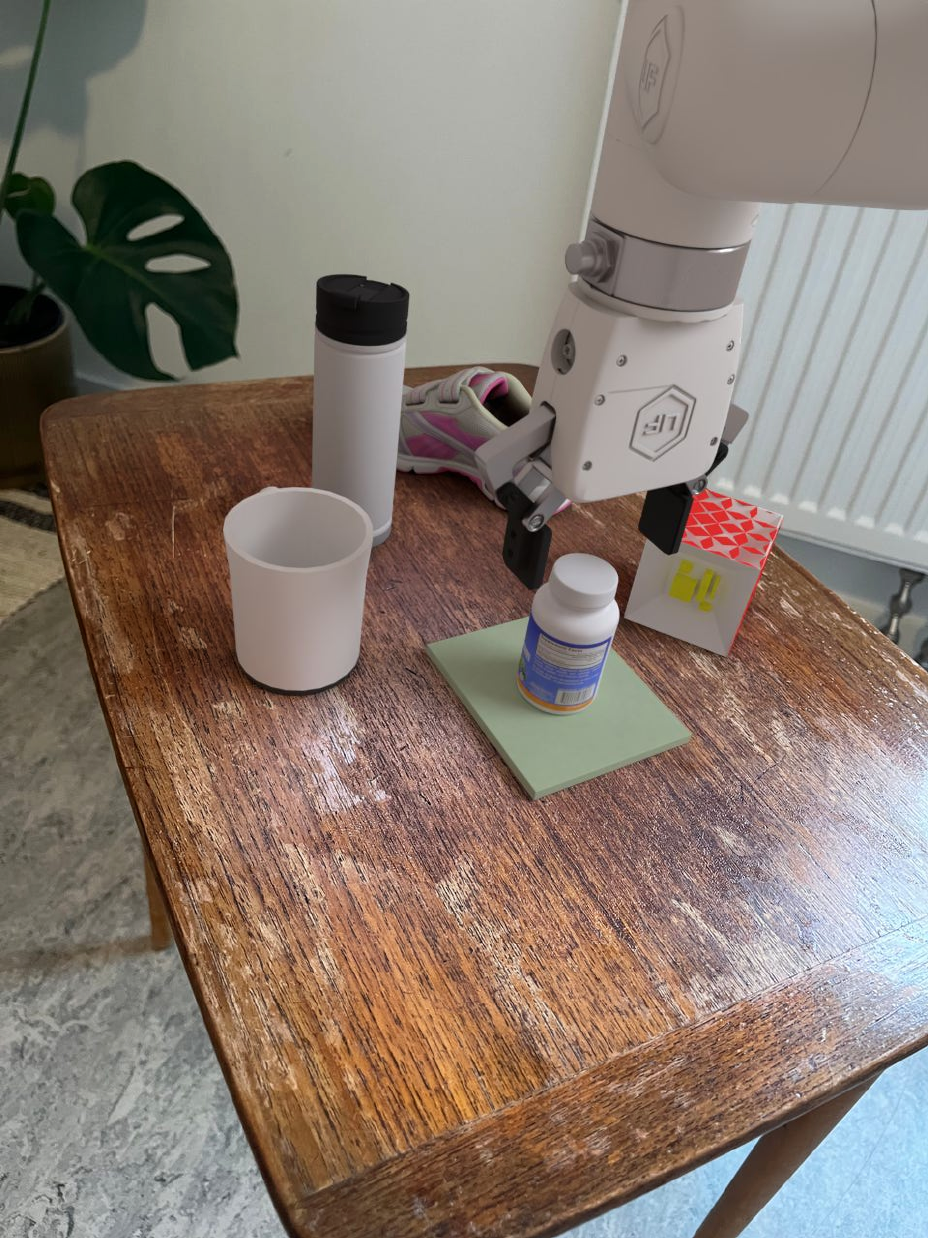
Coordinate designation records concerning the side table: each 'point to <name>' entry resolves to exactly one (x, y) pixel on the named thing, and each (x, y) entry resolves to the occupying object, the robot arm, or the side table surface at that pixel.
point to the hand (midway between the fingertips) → (591, 558)
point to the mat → (550, 743)
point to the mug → (297, 586)
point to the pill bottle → (569, 635)
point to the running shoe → (460, 423)
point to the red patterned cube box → (705, 573)
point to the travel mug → (359, 392)
